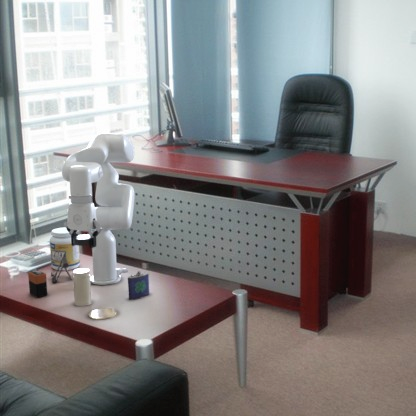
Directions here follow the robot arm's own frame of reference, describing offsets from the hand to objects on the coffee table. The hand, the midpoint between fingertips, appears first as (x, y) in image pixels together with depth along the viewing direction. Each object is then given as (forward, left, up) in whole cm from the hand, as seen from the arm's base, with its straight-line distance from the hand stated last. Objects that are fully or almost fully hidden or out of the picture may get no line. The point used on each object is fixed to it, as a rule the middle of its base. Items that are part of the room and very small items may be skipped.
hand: (83, 245), depth 249 cm
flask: (-20, +4, -24) cm, 31 cm away
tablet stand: (-4, -34, -24) cm, 42 cm away
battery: (+10, -22, -24) cm, 34 cm away
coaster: (-1, +12, -24) cm, 26 cm away
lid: (0, 0, +3) cm, 3 cm away
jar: (0, -3, -24) cm, 24 cm away
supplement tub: (-12, -49, -24) cm, 56 cm away
